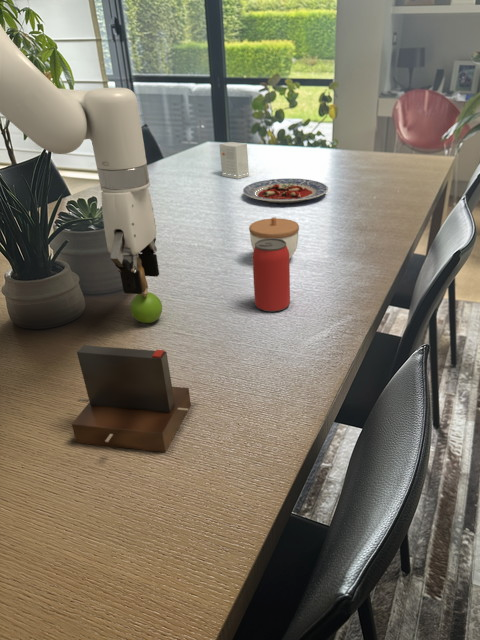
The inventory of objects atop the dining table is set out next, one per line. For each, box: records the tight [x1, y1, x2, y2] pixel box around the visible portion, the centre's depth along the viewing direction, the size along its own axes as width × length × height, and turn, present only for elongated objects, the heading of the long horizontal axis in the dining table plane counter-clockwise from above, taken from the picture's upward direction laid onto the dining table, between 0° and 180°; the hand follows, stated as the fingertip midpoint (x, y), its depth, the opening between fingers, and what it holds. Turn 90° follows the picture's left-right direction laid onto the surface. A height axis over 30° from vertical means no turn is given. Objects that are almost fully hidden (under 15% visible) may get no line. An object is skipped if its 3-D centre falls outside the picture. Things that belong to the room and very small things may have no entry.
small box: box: [219, 141, 250, 180], centre depth 188 cm, size 8×6×10 cm
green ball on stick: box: [130, 252, 163, 324], centre depth 96 cm, size 5×6×12 cm
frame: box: [76, 344, 175, 413], centre depth 69 cm, size 11×2×8 cm, turn 79°
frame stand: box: [71, 386, 192, 453], centre depth 72 cm, size 15×15×3 cm
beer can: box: [251, 238, 291, 313], centre depth 99 cm, size 7×7×12 cm
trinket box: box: [248, 217, 300, 259], centre depth 120 cm, size 11×11×9 cm
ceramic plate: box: [242, 178, 329, 204], centre depth 167 cm, size 26×26×3 cm
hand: (142, 283), depth 95 cm, fingers open, 6 cm apart
